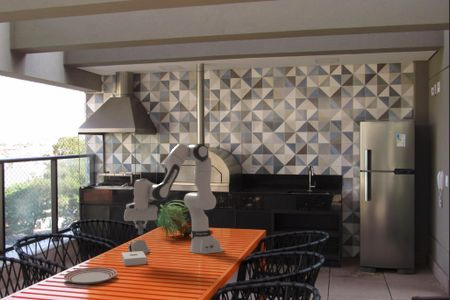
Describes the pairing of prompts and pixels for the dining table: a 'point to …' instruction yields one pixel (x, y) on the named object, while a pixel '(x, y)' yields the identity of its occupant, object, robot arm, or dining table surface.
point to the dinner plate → (90, 275)
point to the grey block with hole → (134, 258)
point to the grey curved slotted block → (138, 246)
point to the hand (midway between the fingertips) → (140, 227)
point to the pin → (140, 227)
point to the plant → (174, 220)
